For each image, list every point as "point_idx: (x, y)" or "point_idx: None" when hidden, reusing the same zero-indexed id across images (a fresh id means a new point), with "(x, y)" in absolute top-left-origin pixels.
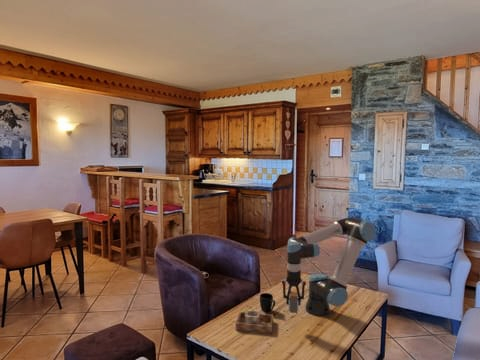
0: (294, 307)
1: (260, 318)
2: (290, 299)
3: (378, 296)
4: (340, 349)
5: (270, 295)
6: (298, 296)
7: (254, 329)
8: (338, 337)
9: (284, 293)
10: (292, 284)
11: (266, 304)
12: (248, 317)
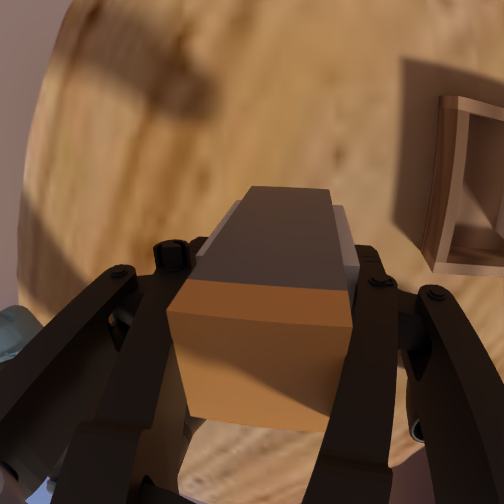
0: (273, 204)
1: (493, 254)
2: (332, 252)
3: None
4: (62, 42)
5: (417, 432)
6: (172, 294)
7: None
8: (63, 142)
9: (459, 338)
10: None
11: None
12: None
